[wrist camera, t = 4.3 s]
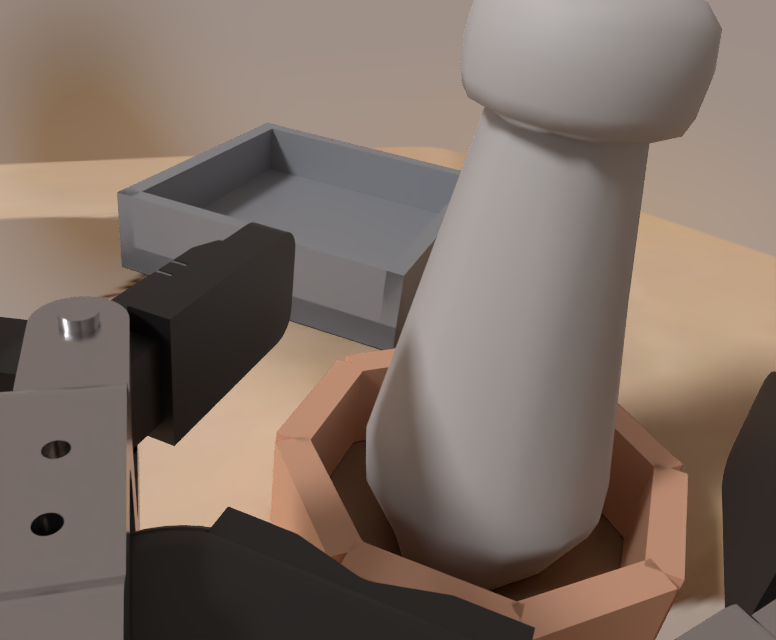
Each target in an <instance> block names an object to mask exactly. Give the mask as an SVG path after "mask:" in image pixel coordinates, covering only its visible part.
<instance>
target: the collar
mask: <svg viewBox="0 0 776 640" xmlns="http://www.w3.org/2000/svg"><path fill="white" fill-rule="evenodd" d="M394 351H395V348H394V349H387V350H380V351H373V352H366V353H359V354H352V355H346V362H345V361H342V360H337V361H336V362H335V363H334V365H333V366H332V367H331V368H330V369H329V371H328V372H327V373H326V374H325V375H324V377H323V378H322V379H321V380H320V381H319V382H318V384H317V385H316V386H315V387H314V388H313V390H312V391H311V392H310V393H309V394H308V396H307V397H306V398H305V399H304V400H303V402H302V403H301V404H300V405H299V406H298V408H297V409H296V410H295V411H294V412H293V414H292V415H291V416H290V417H289V418H288V420H287V421H286V422H285V423H284V424H283V426H282V427H281V428H280V429H279V430H278V431H277V434H276V442H275V453H274V469H273V485H272V501H271V517H270V519H271V522H272V524H274V525H276V526H279V527H281V528H284V529H286V530H289V531H291V532H294V533H296V534H298V535H300V536H301V537H303V538H304V539H306V540H307V541H308V542H310V543H311V544H313V545H314V546H316V547H317V548H319V549H320V550H321V551H323V552H324V553H326V554H327V555H329V556H330V557H332V558H333V559H334V560H336V561H337V562H339V563H340V564H342V565H343V566H345V567H346V568H347V569H349V570H350V571H352V572H353V573H355V574H356V575H358V576H359V577H361V578H363V579H365V580H368V581H372V582H377V583H383V584H389V585H395V586H400V587H406V588H412V589H418V590H424V591H430V592H436V593H442V594H448V595H454V596H456V597H459V598H461V599H464V600H466V601H469V602H471V603H474V604H477V605H479V606H482V607H484V608H487V609H489V610H492V611H494V612H497V613H499V614H502V615H504V616H507V617H509V618H512V619H515V620H517V621H520V622H522V623H525V624H527V625H530V626H532V627H535V631H534V635H533V639H532V640H655V638H656V637H657V634H658V633H659V631H660V629H661V627H662V624H663V623H664V621H665V619H666V616H667V614H668V612H669V610H670V608H671V606H672V604H673V602H674V600H675V598H676V596H677V594H678V592H679V590H680V588H681V586H682V584H683V582H684V580H685V551H686V521H687V490H688V474H687V473H684V472H681V471H680V470H681V468H682V466H683V464H682V463H681V462H680V461H679V460H678V459H677V458H676V457H674V456H673V455H672V454H671V453H670V452H669V451H668V450H667V449H666V448H665V447H664V446H663V445H662V444H661V443H660V442H659V441H657V440H656V439H655V438H654V437H653V436H652V435H651V434H650V433H649V432H648V431H647V430H646V429H645V428H644V427H643V426H642V425H640V424H639V423H638V422H637V421H636V420H635V419H634V418H633V417H632V416H631V415H630V414H629V413H628V412H627V411H626V410H624V409H623V408H622V407H621V406H620V405H619V404H618V403H617V413H616V422H615V431H614V441H613V450H612V460H611V469H610V479H609V486H608V490H607V494H606V497H605V501H604V505H603V509H602V514H603V515H604V516H605V517H606V518H607V519H608V520H609V522H610V523H611V524H612V525H613V526H614V527H615V528H616V530H617V531H618V532H619V533H620V534H621V535H622V536H623V538H624V545H623V552H622V560H621V567H620V568H619V569H616V570H613V571H610V572H607V573H604V574H601V575H598V576H595V577H592V578H588V579H585V580H582V581H579V582H576V583H573V584H570V585H567V586H564V587H561V588H557V589H554V590H551V591H548V592H545V593H542V594H539V595H536V596H533V597H529V598H526V599H523V600H520V601H514V600H512V599H509V598H506V597H504V596H501V595H499V594H496V593H494V592H491V591H488V590H486V589H483V588H481V587H478V586H476V585H473V584H470V583H468V582H465V581H463V580H460V579H458V578H455V577H452V576H450V575H447V574H445V573H442V572H440V571H437V570H435V569H432V568H429V567H427V566H424V565H422V564H419V563H417V562H414V561H411V560H409V559H406V558H404V557H401V556H399V555H396V554H393V553H391V552H388V551H386V550H383V549H381V548H378V547H375V546H373V545H370V544H368V543H365V542H363V541H362V540H361V538H360V536H359V534H358V532H357V530H356V528H355V526H354V524H353V522H352V520H351V518H350V516H349V514H348V512H347V510H346V508H345V506H344V504H343V502H342V500H341V499H340V497H339V495H338V493H337V491H336V489H335V487H334V485H333V483H332V481H331V479H330V476H331V474H332V473H333V472H334V470H335V469H336V467H337V466H338V464H339V463H340V461H341V460H342V458H343V457H344V455H345V454H346V452H347V451H348V449H349V448H350V446H351V445H352V443H353V442H357V441H362V440H366V427H367V424H368V421H369V419H370V416H371V413H372V411H373V408H374V405H375V402H376V400H377V397H378V394H379V392H380V389H381V386H382V384H383V381H384V378H385V375H386V373H387V370H388V367H389V365H390V362H391V359H392V356H393V354H394Z"/></svg>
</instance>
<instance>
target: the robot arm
mask: <svg viewBox="0 0 776 640" xmlns="http://www.w3.org/2000/svg"><path fill="white" fill-rule="evenodd" d="M294 263H295V239H294V236H293V235H292V233H290V232H287V231H283V230H280V229H276V228H272V227H269V226H265V225H262V224H258V223H255V222H251V223H249V224H247V225H245V226H244V227H243V228H241V229H240V230H238V231H237V232H235V233H234V234H232V235H231V236H229V237H228V238H226V239H225V240H223V241H221V240H216V241H213V242H209V243H206V244H202V245H199V246H196V247H192V248H191V249H189V250H188V251H186V252H185V253H183V254H181V255H180V256H178V257H177V258H175V259H174V261H173V263H172V262H169V263H168V264H166V265H164V266H163V267H161V268H160V269H159V271H158V273H157V272H154V273H152V274H151V275H149V276H147V277H146V278H144V279H143V280H141V281H140V282H138V283H137V284H135V285H134V286H132V287H130V288H129V289H127V290H126V291H124V292H123V293H121V294H120V295H118V296H117V297H115V298H113V299H112V300H108V299H104V298H99V297H71V298H65V299H61V300H57V301H54V302H51V303H48V304H46V305H44V306H42V307H40V308H39V309H37V310H36V311H35V312H34V313H32V314H31V316H30V317H29V319H28V320H22V319H12V318H4V317H0V640H532V639H533V635H534V631H535V627H532V626H530V625H527V624H525V623H522V622H520V621H517V620H515V619H512V618H509V617H507V616H504V615H502V614H499V613H497V612H494V611H492V610H489V609H487V608H484V607H482V606H479V605H477V604H474V603H471V602H469V601H466V600H464V599H461V598H459V597H456V596H454V595H448V594H442V593H436V592H430V591H424V590H418V589H412V588H406V587H400V586H395V585H389V584H383V583H377V582H372V581H368V580H365V579H363V578H361V577H359V576H358V575H356V574H355V573H353V572H352V571H350V570H349V569H347V568H346V567H345V566H343V565H342V564H340V563H339V562H337V561H336V560H334V559H333V558H332V557H330V556H329V555H327V554H326V553H324V552H323V551H321V550H320V549H319V548H317V547H316V546H314V545H313V544H311V543H310V542H308V541H307V540H306V539H304V538H303V537H301V536H300V535H298V534H296V533H294V532H291V531H289V530H286V529H284V528H281V527H279V526H276V525H274V524H271V523H269V522H266V521H264V520H261V519H258V518H256V517H253V516H251V515H248V514H246V513H243V512H241V511H238V510H236V509H233V508H231V507H227V509H226V510H225V511H224V512H223V513H222V515H221V516H220V517H219V518H218V520H217V521H216V522H215V523H214V525H213V526H212V527H204V526H188V525H179V526H163V527H155V528H148V529H143V530H140V501H139V453H138V444H139V443H140V442H141V441H142V440H143V439H144V438H145V437H146V436H150V437H152V438H155V439H158V440H160V441H163V442H165V443H168V444H171V445H173V446H175V445H176V444H177V443H178V442H179V441H180V440H181V439H182V438H183V437H184V436H185V435H186V434H187V433H188V432H189V431H190V430H191V429H192V428H193V427H194V426H195V425H196V424H197V423H198V422H199V421H200V420H201V419H202V418H203V417H204V416H205V415H206V414H207V413H208V412H209V411H210V410H211V409H212V408H213V407H214V406H215V405H216V404H217V403H218V402H219V401H220V400H221V399H222V398H223V397H224V396H225V395H226V394H227V393H228V392H229V391H230V390H231V389H232V388H233V387H234V386H235V385H236V384H237V383H238V382H239V381H240V380H241V379H242V378H243V377H244V376H245V375H246V374H247V373H248V372H249V371H250V370H251V369H252V368H253V367H254V366H255V365H256V364H257V363H258V362H259V361H260V360H261V359H262V358H263V357H264V356H265V355H266V354H267V353H268V352H269V351H270V350H271V349H272V348H273V347H274V346H275V345H276V344H277V343H278V342H279V341H280V339H281V338H282V336H283V335H284V333H285V331H286V328H287V326H288V323H289V319H290V315H291V308H292V293H293V278H294ZM722 510H723V548H724V586H725V609H723V610H721V611H720V612H718V613H717V614H715V615H713V616H712V617H710V618H709V619H707V620H705V621H704V622H702V623H701V624H699V625H697V626H696V627H694V628H693V629H691V630H690V631H688V632H686V633H684V634H683V635H681V636H680V637H678V638H676V639H675V640H776V372H771V373H770V374H769V375H768V376H767V378H766V379H765V381H764V383H763V385H762V387H761V389H760V391H759V393H758V395H757V397H756V399H755V401H754V403H753V405H752V407H751V410H750V412H749V414H748V416H747V418H746V420H745V422H744V424H743V426H742V428H741V430H740V433H739V435H738V437H737V439H736V441H735V443H734V445H733V447H732V449H731V452H730V454H729V457H728V460H727V463H726V467H725V471H724V475H723V481H722Z"/></svg>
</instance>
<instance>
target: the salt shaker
mask: <svg viewBox="0 0 776 640" xmlns="http://www.w3.org/2000/svg"><path fill="white" fill-rule="evenodd" d="M721 33H722V28H721V26H720V24H719V22H718V21H717V19H716V17H715V15H714V13H713V11H712V9H711V8H710V6H709V4H708V3H707V2H706V1H704V0H474V2H473V4H472V7H471V10H470V13H469V16H468V19H467V22H466V26H465V29H464V37H463V46H462V54H461V63H460V68H461V75H462V83H463V86H464V89H465V91H466V93H467V96H468V97H469V98H470V99H472V100H474V101H476V102H477V103H479V104H481V105H483V106H484V107H485V108H484V111H483V113H482V116H481V119H480V121H479V124H478V127H477V130H476V132H475V135H474V138H473V140H472V143H471V146H470V148H469V151H468V154H467V156H466V159H465V162H464V165H463V167H462V170H461V173H460V175H459V178H458V181H457V184H456V186H455V189H454V192H453V194H452V197H451V200H450V202H449V205H448V208H447V211H446V213H445V216H444V219H443V221H442V224H441V227H440V229H439V232H438V235H437V238H436V240H435V243H434V246H433V248H432V251H431V254H430V256H429V259H428V262H427V265H426V267H425V270H424V273H423V275H422V278H421V281H420V284H419V286H418V289H417V292H416V294H415V297H414V300H413V302H412V305H411V308H410V311H409V313H408V316H407V319H406V321H405V324H404V327H403V329H402V332H401V335H400V338H399V340H398V343H397V346H396V348H395V351H394V354H393V356H392V359H391V362H390V365H389V367H388V370H387V373H386V375H385V378H384V381H383V384H382V386H381V389H380V392H379V394H378V397H377V400H376V402H375V405H374V408H373V411H372V413H371V416H370V419H369V421H368V424H367V427H366V477H367V482H368V484H369V486H370V487H371V489H372V491H373V493H374V495H375V497H376V499H377V501H378V502H379V504H380V506H381V508H382V510H383V512H384V514H385V516H386V517H387V519H388V521H389V523H390V525H391V527H392V529H393V531H394V532H395V536H396V539H397V542H398V545H399V548H400V551H401V554H402V557H404V558H406V559H409V560H411V561H414V562H417V563H419V564H422V565H424V566H427V567H429V568H432V569H435V570H437V571H440V572H442V573H445V574H447V575H450V576H452V577H455V578H458V579H460V580H463V581H465V582H468V583H470V584H473V585H476V586H478V587H481V588H483V589H486V590H488V591H490V590H493V589H496V588H499V587H501V586H504V585H507V584H510V583H513V582H516V581H519V580H521V579H524V578H527V577H530V576H533V575H536V574H538V573H540V572H541V571H542V570H544V569H545V568H546V567H548V566H549V565H551V564H552V563H553V562H555V561H556V560H557V559H559V558H560V557H561V556H563V555H564V554H566V553H567V552H568V551H570V550H571V549H572V548H574V547H575V546H576V545H578V544H579V543H580V542H582V541H583V540H585V539H586V538H587V537H589V535H590V534H591V532H592V531H593V530H594V528H595V527H596V525H597V524H598V522H599V520H600V516H601V512H602V509H603V505H604V501H605V497H606V494H607V490H608V486H609V479H610V469H611V460H612V450H613V441H614V431H615V422H616V413H617V403H618V394H619V384H620V375H621V365H622V356H623V346H624V337H625V327H626V318H627V309H628V300H629V292H630V285H631V277H632V270H633V262H634V255H635V247H636V240H637V232H638V225H639V217H640V210H641V202H642V194H643V187H644V180H645V171H646V164H647V157H648V149H649V143H653V142H658V141H663V140H668V139H672V138H677V137H681V136H683V134H684V133H685V132H686V131H687V129H688V128H689V127H690V125H691V124H692V123H693V121H694V120H695V119H696V116H697V114H698V112H699V109H700V107H701V104H702V102H703V100H704V97H705V95H706V92H707V90H708V88H709V85H710V83H711V80H712V77H713V75H714V72H715V69H716V62H717V56H718V50H719V44H720V39H721Z"/></svg>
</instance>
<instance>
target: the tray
mask: <svg viewBox="0 0 776 640" xmlns="http://www.w3.org/2000/svg"><path fill="white" fill-rule="evenodd" d="M460 173H461V171H459V170H455V169H451V168H447V167H443V166H439V165H435V164H431V163H427V162H423V161H419V160H415V159H411V158H407V157H403V156H399V155H395V154H391V153H387V152H383V151H379V150H375V149H371V148H366V147H362V146H358V145H354V144H350V143H346V142H342V141H338V140H334V139H330V138H326V137H322V136H318V135H314V134H310V133H306V132H302V131H298V130H294V129H290V128H286V127H282V126H278V125H274V124H269V123H266V124H264V125H262V126H259V127H257V128H255V129H253V130H251V131H249V132H247V133H244V134H242V135H240V136H238V137H236V138H234V139H231V140H229V141H227V142H225V143H223V144H221V145H218V146H217V147H214V148H212V149H210V150H208V151H206V152H203V153H201V154H199V155H197V156H195V157H193V158H190V159H188V160H186V161H184V162H182V163H180V164H177V165H175V166H173V167H171V168H169V169H167V170H165V171H162V172H160V173H158V174H156V175H154V176H152V177H149V178H147V179H145V180H143V181H141V182H139V183H137V184H134V185H132V186H130V187H128V188H126V189H124V190H121V191H119V192H117V198H118V213H119V228H120V243H121V258H122V267H124V268H127V269H130V270H134V271H137V272H140V273H143V274H146V275H151V274H152V273H154V272H157V273H158V271H159V269H160V268H161V267H163V266H164V265H166V264H168V263H169V262H172V263H173V261H174V259H175V258H177V257H178V256H180V255H181V254H183V253H185V252H186V251H188V250H189V249H191V248H192V247H196V246H199V245H202V244H206V243H209V242H213V241H216V240H221V241H223V240H225V239H226V238H228V237H229V236H231V235H232V234H234V233H235V232H237V231H238V230H240V229H241V228H243V227H244V226H245V225H247V224H249V223H251V222H255V223H258V224H262V225H265V226H269V227H272V228H276V229H280V230H283V231H287V232H290V233H292V235H293V236H294V239H295V263H294V278H293V293H292V308H291V315H290V319H289V320H291V321H294V322H297V323H300V324H303V325H306V326H309V327H313V328H316V329H319V330H322V331H325V332H328V333H331V334H335V335H338V336H341V337H344V338H347V339H350V340H353V341H357V342H360V343H363V344H366V345H369V346H372V347H375V348H379V349H382V350H387V349H394V348H396V346H397V343H398V340H399V338H400V335H401V332H402V329H403V327H404V324H405V321H406V319H407V316H408V313H409V311H410V308H411V305H412V302H413V300H414V297H415V294H416V292H417V289H418V286H419V284H420V281H421V278H422V275H423V273H424V270H425V267H426V265H427V262H428V259H429V256H430V254H431V251H432V248H433V246H434V243H435V240H436V238H437V235H438V232H439V229H440V227H441V224H442V221H443V219H444V216H445V213H446V211H447V208H448V205H449V202H450V200H451V197H452V194H453V192H454V189H455V186H456V184H457V181H458V178H459V175H460Z"/></svg>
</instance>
